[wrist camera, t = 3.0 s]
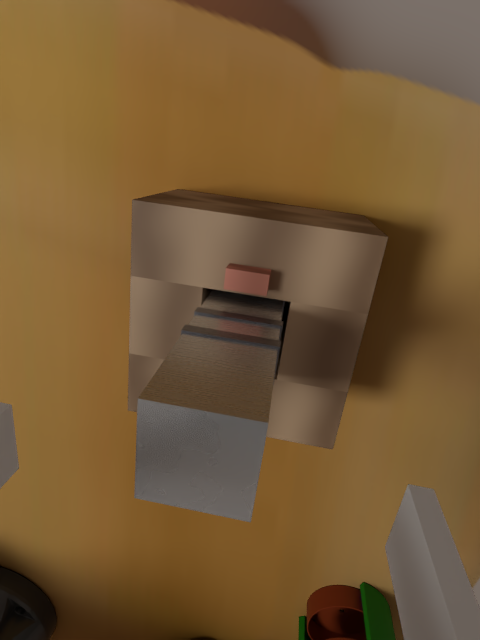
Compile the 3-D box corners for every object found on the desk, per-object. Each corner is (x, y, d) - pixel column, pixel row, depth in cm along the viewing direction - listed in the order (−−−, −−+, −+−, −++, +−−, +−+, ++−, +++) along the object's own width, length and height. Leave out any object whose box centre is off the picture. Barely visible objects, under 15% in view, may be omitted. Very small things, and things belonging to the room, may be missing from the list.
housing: (167, 352, 36) (120, 420, 27) (177, 189, 31) (123, 201, 21) (325, 380, 35) (334, 461, 26) (363, 215, 30) (393, 241, 20)
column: (224, 313, 34) (132, 499, 15) (230, 259, 32) (134, 395, 14) (279, 323, 33) (252, 524, 15) (289, 268, 32) (271, 421, 13)
